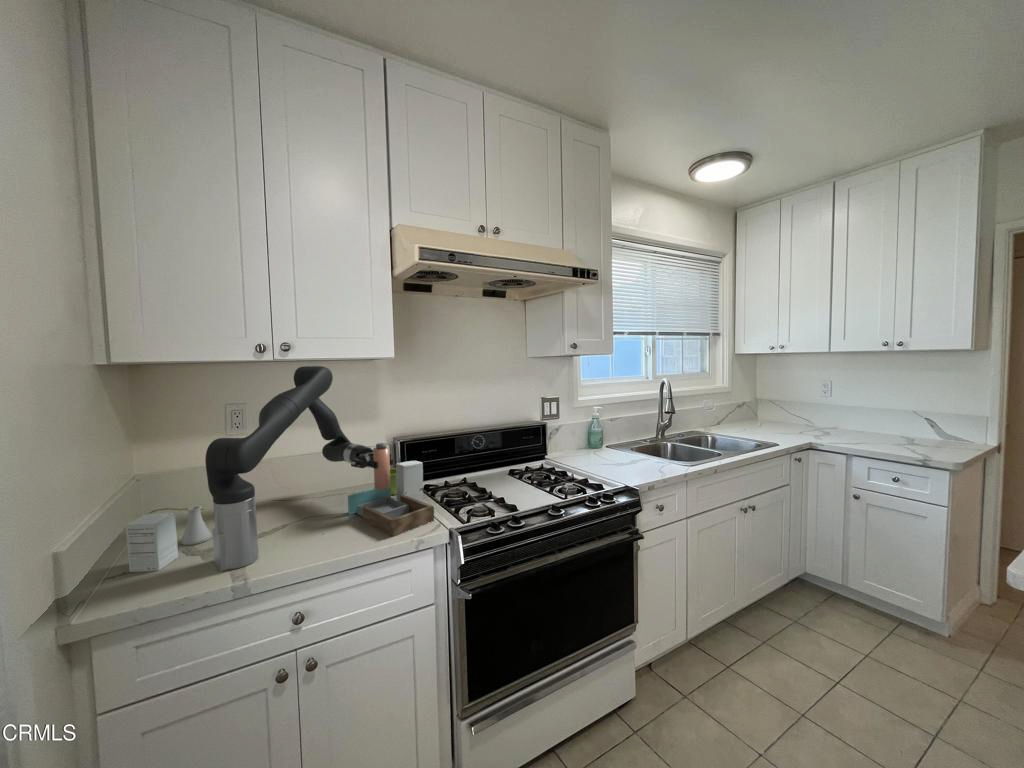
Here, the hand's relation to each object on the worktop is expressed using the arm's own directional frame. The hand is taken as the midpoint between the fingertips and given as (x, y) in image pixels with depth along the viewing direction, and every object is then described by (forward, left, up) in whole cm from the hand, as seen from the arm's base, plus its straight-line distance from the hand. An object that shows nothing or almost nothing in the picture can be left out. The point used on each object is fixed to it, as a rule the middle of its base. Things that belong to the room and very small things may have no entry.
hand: (384, 463), depth 141 cm
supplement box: (-58, +17, -18) cm, 63 cm away
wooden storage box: (0, -8, -18) cm, 19 cm away
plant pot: (+14, +18, -18) cm, 29 cm away
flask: (-47, +27, -18) cm, 57 cm away
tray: (0, +3, -18) cm, 18 cm away
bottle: (0, +2, -9) cm, 9 cm away
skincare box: (+13, +4, -18) cm, 23 cm away
